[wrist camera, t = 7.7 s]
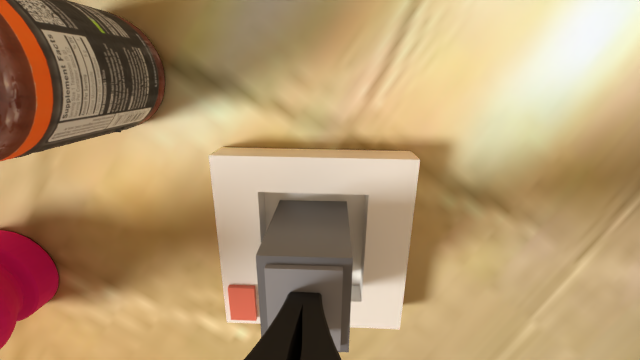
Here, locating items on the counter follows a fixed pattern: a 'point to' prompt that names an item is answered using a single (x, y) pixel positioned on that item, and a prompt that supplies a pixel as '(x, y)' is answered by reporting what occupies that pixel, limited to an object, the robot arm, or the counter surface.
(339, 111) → the counter surface
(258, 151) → the socket plate
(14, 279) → the pepper mill
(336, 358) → the robot arm
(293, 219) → the plug
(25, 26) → the supplement bottle
